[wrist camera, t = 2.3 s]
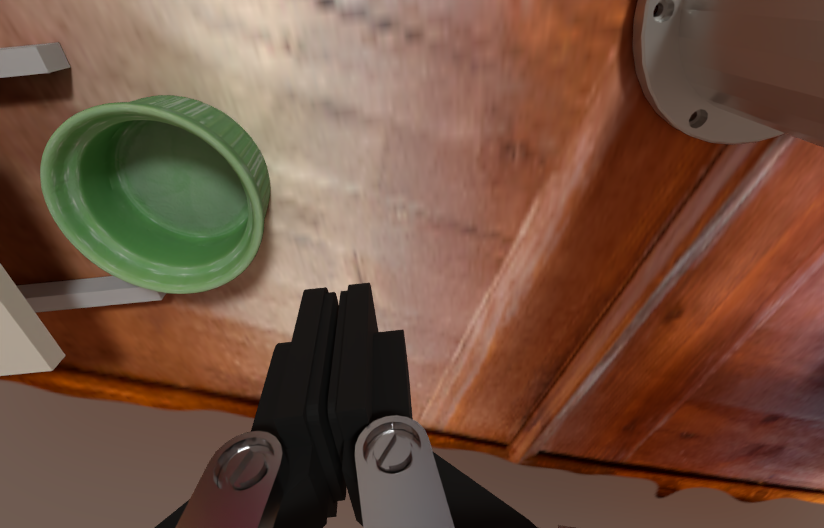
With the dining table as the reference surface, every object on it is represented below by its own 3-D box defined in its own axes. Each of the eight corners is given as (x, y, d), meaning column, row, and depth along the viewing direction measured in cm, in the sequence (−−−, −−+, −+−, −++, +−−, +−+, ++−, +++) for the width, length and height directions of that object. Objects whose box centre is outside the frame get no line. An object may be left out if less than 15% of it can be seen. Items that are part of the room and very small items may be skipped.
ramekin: (270, 264, 26) (251, 310, 22) (104, 228, 24) (52, 273, 20) (293, 113, 21) (274, 141, 18) (90, 56, 20) (21, 73, 16)
